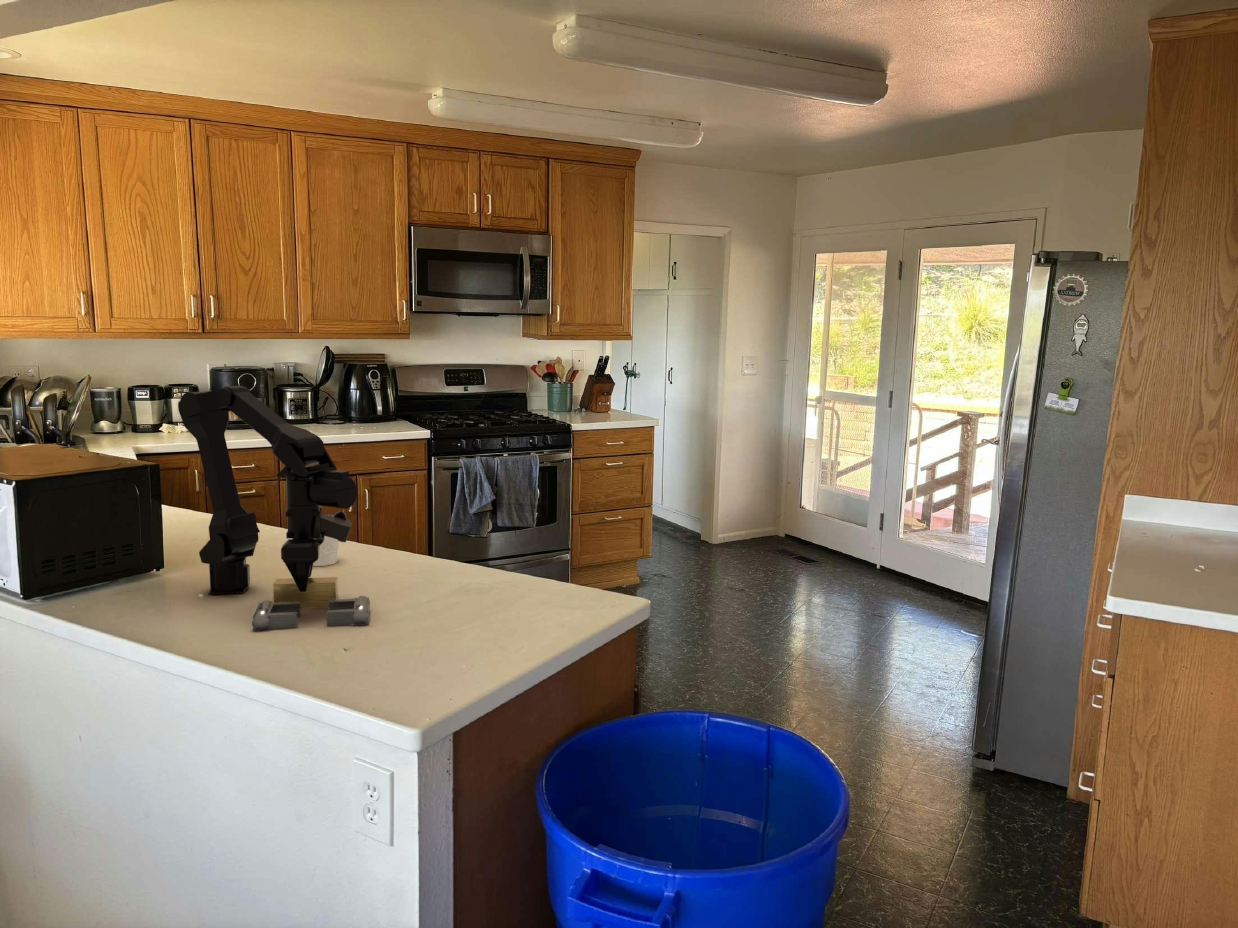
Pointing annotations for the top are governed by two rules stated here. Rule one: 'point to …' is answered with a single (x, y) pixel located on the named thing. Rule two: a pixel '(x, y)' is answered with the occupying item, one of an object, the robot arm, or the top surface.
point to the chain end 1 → (276, 615)
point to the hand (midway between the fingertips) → (305, 584)
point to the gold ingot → (307, 592)
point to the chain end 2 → (348, 611)
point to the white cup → (327, 552)
